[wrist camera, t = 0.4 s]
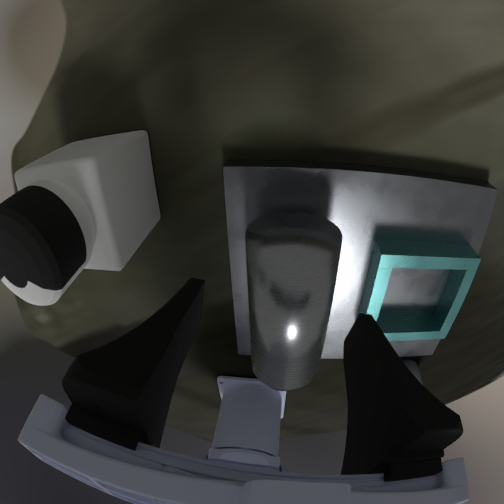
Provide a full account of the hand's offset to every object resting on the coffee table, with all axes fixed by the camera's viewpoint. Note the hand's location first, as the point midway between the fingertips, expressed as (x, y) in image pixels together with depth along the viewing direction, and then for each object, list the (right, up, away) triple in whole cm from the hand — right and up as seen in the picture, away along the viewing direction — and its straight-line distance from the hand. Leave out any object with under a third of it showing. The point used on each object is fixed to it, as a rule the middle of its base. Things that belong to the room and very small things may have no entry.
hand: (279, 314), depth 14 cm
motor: (+7, +1, +10) cm, 13 cm away
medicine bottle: (-12, +9, +8) cm, 17 cm away
